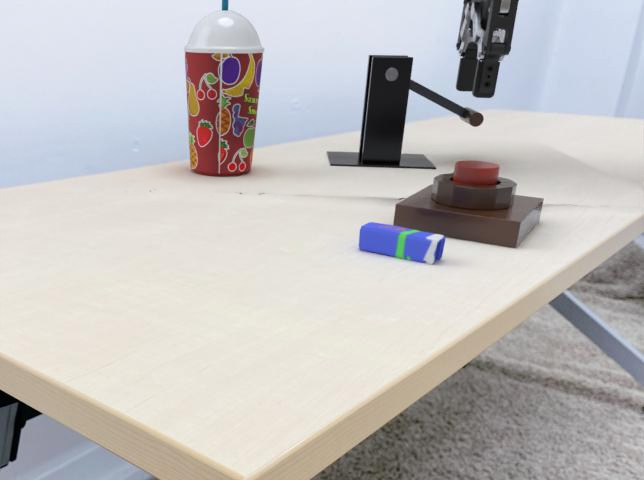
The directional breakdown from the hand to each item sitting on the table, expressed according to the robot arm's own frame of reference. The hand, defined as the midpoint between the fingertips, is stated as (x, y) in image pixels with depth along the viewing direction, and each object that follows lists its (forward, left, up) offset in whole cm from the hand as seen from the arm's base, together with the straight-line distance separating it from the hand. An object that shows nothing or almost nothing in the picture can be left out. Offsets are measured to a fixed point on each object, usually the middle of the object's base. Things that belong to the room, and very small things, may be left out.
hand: (473, 94), depth 81 cm
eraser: (-5, +37, -9) cm, 39 cm away
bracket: (+9, +4, -9) cm, 13 cm away
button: (-7, +25, -5) cm, 27 cm away
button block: (-7, +25, -9) cm, 28 cm away
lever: (+5, +3, -1) cm, 6 cm away
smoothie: (+21, +21, -9) cm, 31 cm away
